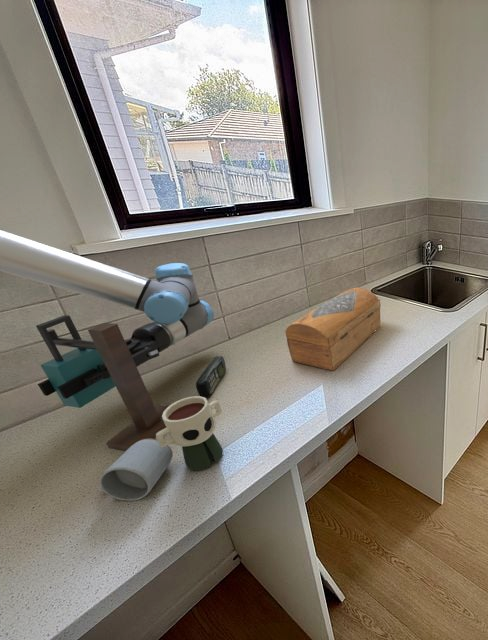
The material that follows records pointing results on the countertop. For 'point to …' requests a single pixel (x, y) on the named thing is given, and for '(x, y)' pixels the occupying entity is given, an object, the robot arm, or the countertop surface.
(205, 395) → the mobile phone
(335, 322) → the wooden box
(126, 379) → the hook stand
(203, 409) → the character mug
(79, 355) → the teal handbag
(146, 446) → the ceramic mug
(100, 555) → the countertop surface
